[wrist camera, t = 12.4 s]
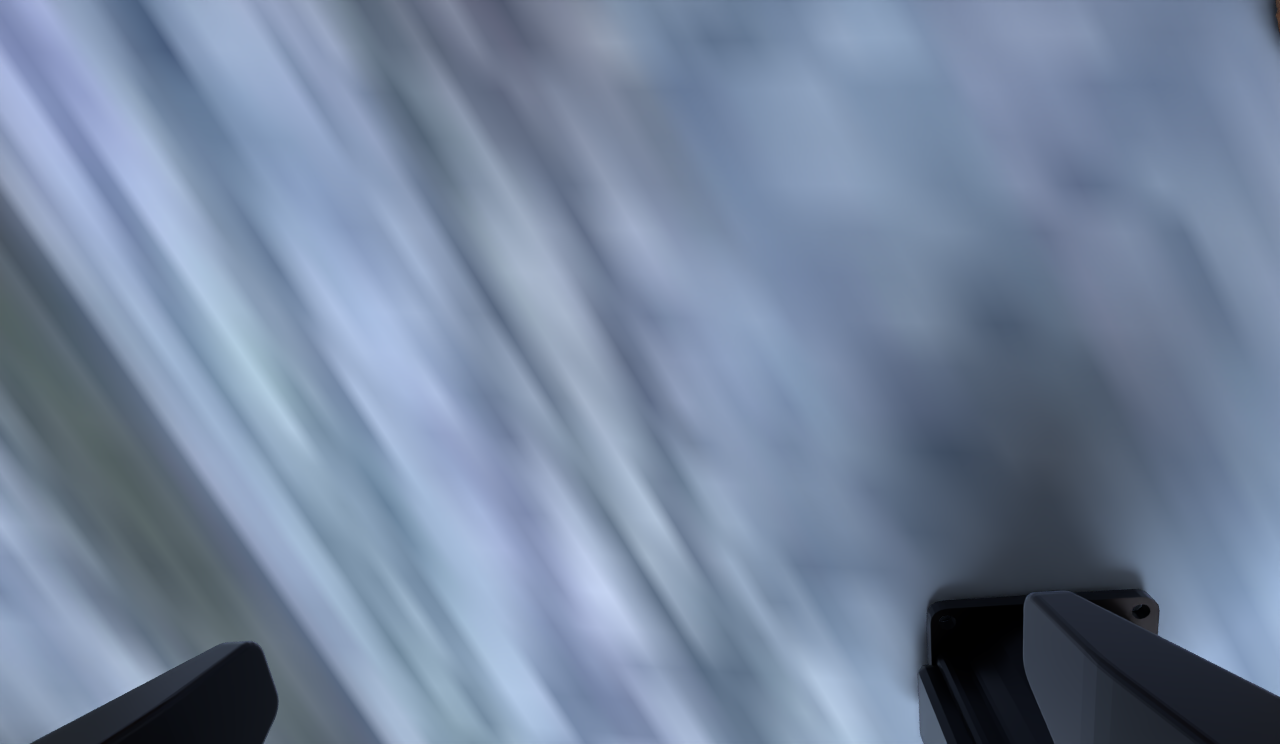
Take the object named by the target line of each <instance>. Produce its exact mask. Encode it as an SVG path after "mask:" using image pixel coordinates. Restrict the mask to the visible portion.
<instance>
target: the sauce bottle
mask: <svg viewBox="0 0 1280 744" xmlns="http://www.w3.org/2000/svg"><path fill="white" fill-rule="evenodd" d="M1276 7H1277V13H1276V18H1277V20H1278V28H1279V32H1280V0H1276Z"/></svg>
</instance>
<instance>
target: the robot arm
mask: <svg viewBox="0 0 1280 744" xmlns="http://www.w3.org/2000/svg"><path fill="white" fill-rule="evenodd" d="M1140 604H1142V606H1141V607H1140V608H1139V609H1138V610H1135V611H1132V610H1133V608H1134V607H1136V606H1137V605H1140ZM947 615H948V616H951V618H950V619H949V620H948V621H944V622H943V621H939V620H940V619H941V618H942V617H943V616H947ZM1158 623H1159V606H1158V604H1157V603H1156V602H1155V600H1154V599H1153V598H1152V597H1151V596H1150V595H1149V594H1148V593H1146V592H1144V591H1142V590H1137V589H1129V590H1113V591H1096V592H1079V593H1072V592H1070V591H1048V592H1033V593H1030V594H1029V595H1028V596H1013V597H996V598H979V599H963V600H946V601H939V602H936V603H934V604H933V605H931V606H930V608H929V609H928V611H927V646H928V665H923V666H922V668H921V669H920V670H919V672H918V692H919V721H920V735H921V738H922V740H923V743H924V744H1280V697H1279V696H1277V695H1275V694H1273V693H1271V692H1269V691H1267V690H1265V689H1263V688H1261V687H1259V686H1257V685H1255V684H1253V683H1251V682H1249V681H1247V680H1245V679H1243V678H1241V677H1239V676H1237V675H1235V674H1233V673H1231V672H1229V671H1227V670H1225V669H1223V668H1221V667H1219V666H1217V665H1215V664H1213V663H1211V662H1209V661H1207V660H1205V659H1204V658H1202V657H1200V656H1198V655H1196V654H1194V653H1192V652H1190V651H1188V650H1186V649H1184V648H1182V647H1180V646H1178V645H1176V644H1174V643H1172V642H1170V641H1168V640H1166V639H1164V638H1162V637H1160V636H1158ZM278 703H279V701H278V693H277V690H276V687H275V684H274V681H273V678H272V675H271V672H270V669H269V666H268V663H267V660H266V657H265V655H264V652H263V650H262V648H261V647H260V646H259V645H258V644H257V643H255V642H253V641H242V642H227V643H222V644H219V645H217V646H215V647H213V648H211V649H209V650H207V651H206V652H204V653H202V654H200V655H198V656H196V657H194V658H192V659H190V660H188V661H186V662H185V663H183V664H181V665H179V666H177V667H175V668H173V669H171V670H169V671H167V672H166V673H164V674H162V675H160V676H158V677H156V678H154V679H152V680H150V681H148V682H146V683H145V684H143V685H141V686H139V687H137V688H135V689H133V690H131V691H129V692H127V693H125V694H124V695H122V696H120V697H118V698H116V699H114V700H112V701H110V702H108V703H106V704H104V705H103V706H101V707H99V708H97V709H95V710H93V711H91V712H89V713H87V714H85V715H84V716H82V717H80V718H78V719H76V720H74V721H72V722H70V723H68V724H66V725H64V726H63V727H61V728H59V729H57V730H55V731H53V732H51V733H49V734H47V735H45V736H43V737H42V738H40V739H38V740H36V741H34V742H32V743H30V744H264V741H265V739H266V737H267V735H268V733H269V730H270V728H271V726H272V724H273V722H274V720H275V717H276V714H277V710H278Z"/></svg>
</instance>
